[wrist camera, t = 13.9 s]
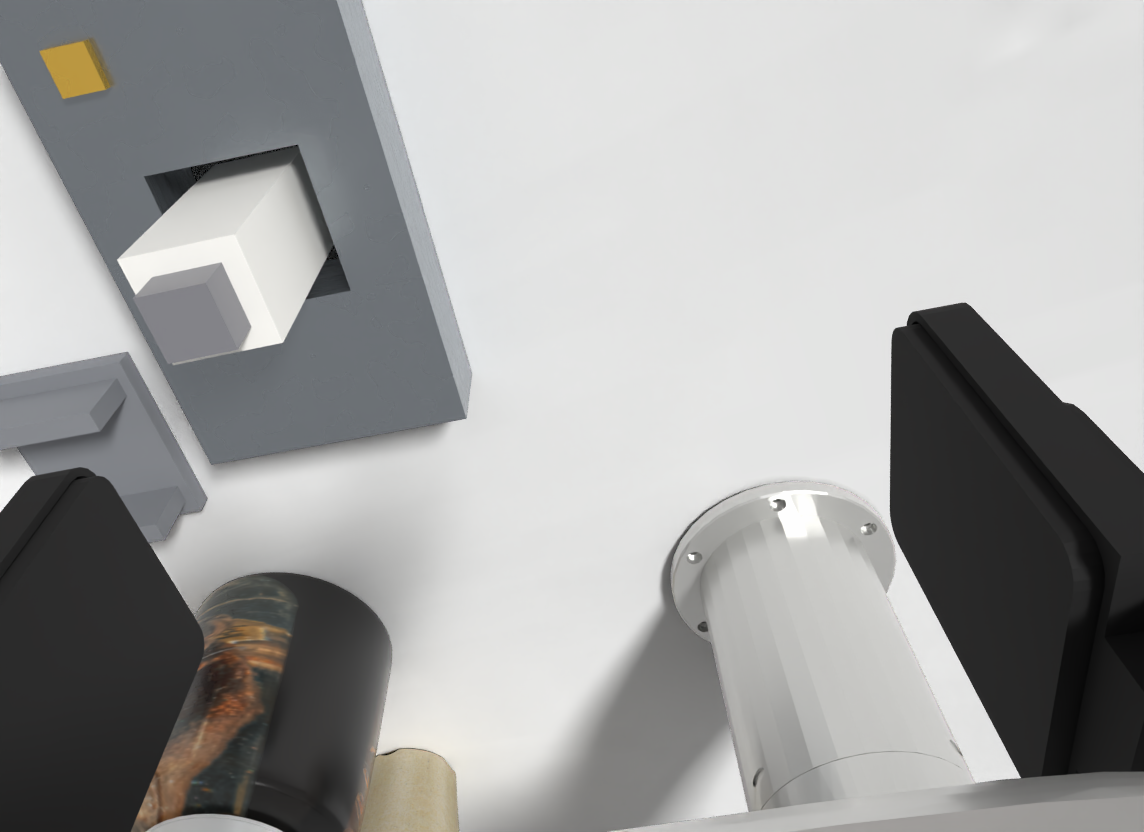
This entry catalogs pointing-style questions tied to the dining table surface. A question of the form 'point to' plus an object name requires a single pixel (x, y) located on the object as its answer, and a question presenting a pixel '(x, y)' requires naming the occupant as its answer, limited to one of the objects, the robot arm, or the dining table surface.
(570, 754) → the dining table surface
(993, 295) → the dining table surface
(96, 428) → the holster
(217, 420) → the port block
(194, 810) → the jar
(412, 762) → the flower pot
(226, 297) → the plug
